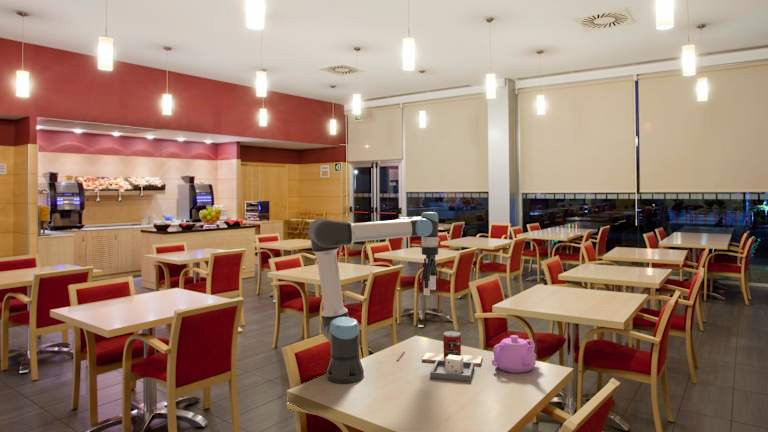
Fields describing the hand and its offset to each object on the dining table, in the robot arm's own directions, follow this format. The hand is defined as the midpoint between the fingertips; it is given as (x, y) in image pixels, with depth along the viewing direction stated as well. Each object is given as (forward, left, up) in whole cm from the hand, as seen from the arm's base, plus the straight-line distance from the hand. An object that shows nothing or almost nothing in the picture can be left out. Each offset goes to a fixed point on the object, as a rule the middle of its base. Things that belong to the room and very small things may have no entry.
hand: (429, 292), depth 236 cm
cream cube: (+11, -21, -25) cm, 35 cm away
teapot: (+39, -11, -29) cm, 50 cm away
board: (+5, -5, -29) cm, 30 cm away
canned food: (+11, -5, -28) cm, 31 cm away
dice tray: (+13, -21, -29) cm, 38 cm away
